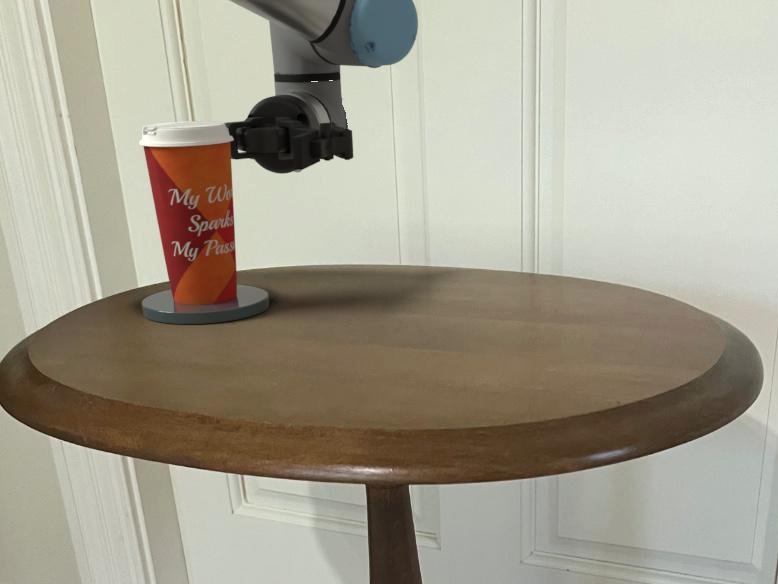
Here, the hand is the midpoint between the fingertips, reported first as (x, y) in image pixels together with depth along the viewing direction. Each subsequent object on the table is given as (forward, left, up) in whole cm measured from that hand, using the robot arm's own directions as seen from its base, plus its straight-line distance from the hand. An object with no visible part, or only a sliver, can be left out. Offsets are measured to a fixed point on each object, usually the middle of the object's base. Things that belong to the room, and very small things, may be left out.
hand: (224, 154), depth 98 cm
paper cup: (+1, -9, -11) cm, 14 cm away
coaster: (+1, -9, -12) cm, 15 cm away
